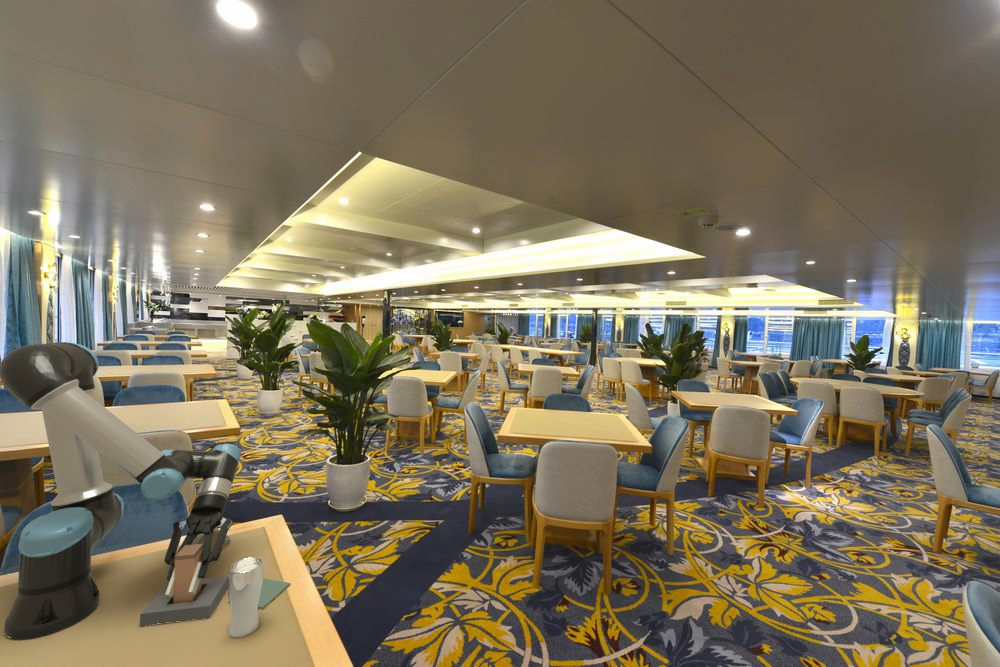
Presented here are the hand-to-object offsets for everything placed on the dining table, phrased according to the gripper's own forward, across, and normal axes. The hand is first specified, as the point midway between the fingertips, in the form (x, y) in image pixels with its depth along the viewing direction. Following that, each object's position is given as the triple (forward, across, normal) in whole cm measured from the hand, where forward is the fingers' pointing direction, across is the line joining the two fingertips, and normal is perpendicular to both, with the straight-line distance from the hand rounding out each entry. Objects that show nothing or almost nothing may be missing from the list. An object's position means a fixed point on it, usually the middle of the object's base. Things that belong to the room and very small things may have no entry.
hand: (180, 594), depth 98 cm
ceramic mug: (-19, +6, -27) cm, 33 cm away
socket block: (+1, 0, -6) cm, 6 cm away
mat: (0, -16, -7) cm, 18 cm away
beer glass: (+9, -16, +1) cm, 19 cm away
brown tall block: (+1, 0, -6) cm, 7 cm away
